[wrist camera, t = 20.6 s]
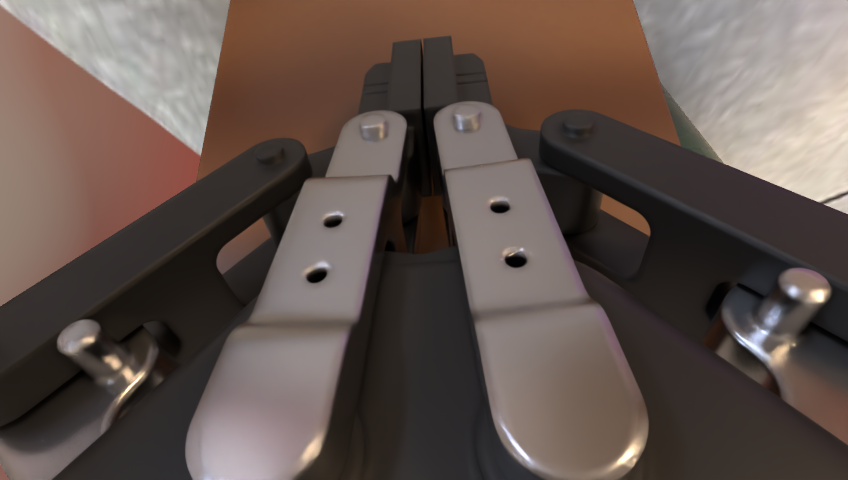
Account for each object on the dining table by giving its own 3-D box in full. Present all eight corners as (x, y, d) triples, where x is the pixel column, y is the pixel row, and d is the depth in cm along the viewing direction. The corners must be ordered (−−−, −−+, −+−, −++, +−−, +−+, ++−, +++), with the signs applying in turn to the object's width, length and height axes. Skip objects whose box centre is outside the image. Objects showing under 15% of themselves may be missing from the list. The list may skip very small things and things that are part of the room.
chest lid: (739, 387, 10) (761, 383, 9) (173, 418, 11) (150, 416, 10) (596, -70, 17) (602, -95, 16) (248, -27, 17) (238, -49, 17)
